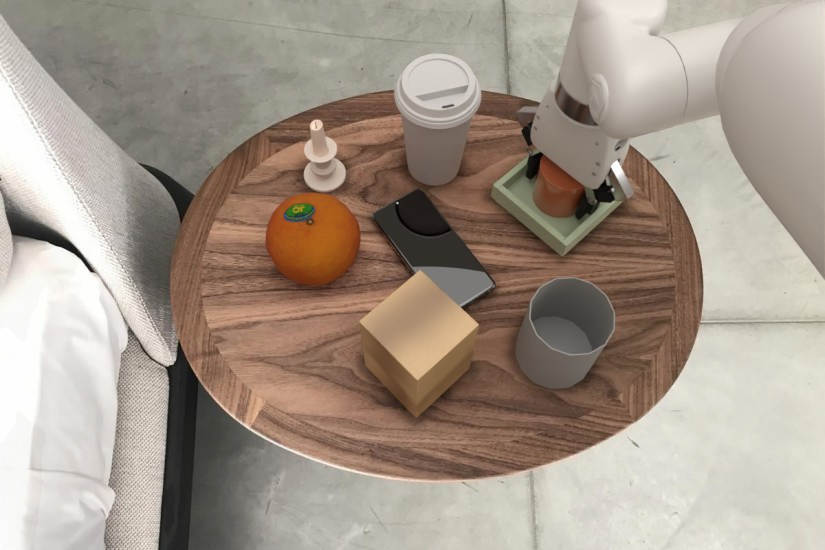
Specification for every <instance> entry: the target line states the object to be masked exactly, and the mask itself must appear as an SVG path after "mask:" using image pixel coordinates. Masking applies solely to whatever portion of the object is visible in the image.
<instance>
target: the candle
mask: <svg viewBox="0 0 825 550" xmlns="http://www.w3.org/2000/svg"><path fill="white" fill-rule="evenodd" d="M309 133H310V139H309V140H308V141H306V143H305V144H304V148H303V152H304V153H303V154H304V155H305V157H306V158H307V159H308V160H309V161H310V162H309V163H307V165H306V166H305V168H304V171H303V179H304V182H305V184H306V186H307V187H308V188H309V189H310V190H312V191H314V192H315V193H322V194H329V193H332V192H335V191H337V190H338V189H340V188H341V187H342V186H343V185H344V183H345V182H346V178H347V170H346V167H345V165H344V163H342V161H340V160H339V159H338V158H335V156H336V155H337V152H338V146H337V144H336V142H335V141H334V139H332V138H331V137H328V136H326V133H325V128H324V125H323V121H322V120H321V119H314V120H312V121H311V123H310V124H309Z"/></svg>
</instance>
